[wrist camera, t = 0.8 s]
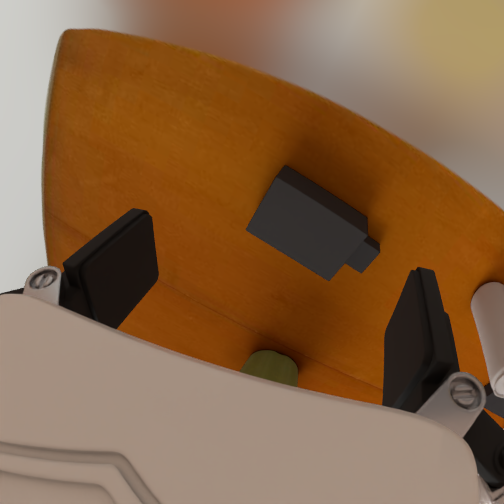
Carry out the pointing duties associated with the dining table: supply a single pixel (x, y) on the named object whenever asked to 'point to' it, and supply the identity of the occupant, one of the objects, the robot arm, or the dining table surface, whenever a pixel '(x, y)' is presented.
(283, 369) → the plant pot
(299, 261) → the pad
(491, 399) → the base pad
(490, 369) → the beverage can
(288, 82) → the dining table surface
